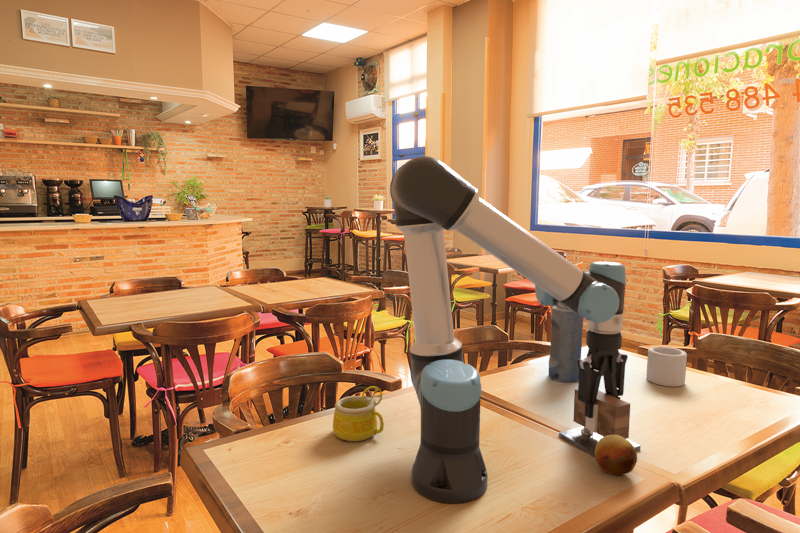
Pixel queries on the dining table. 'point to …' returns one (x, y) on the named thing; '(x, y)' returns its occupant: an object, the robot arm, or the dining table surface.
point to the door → (606, 414)
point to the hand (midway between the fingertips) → (599, 427)
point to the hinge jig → (586, 439)
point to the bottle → (565, 344)
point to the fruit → (615, 455)
